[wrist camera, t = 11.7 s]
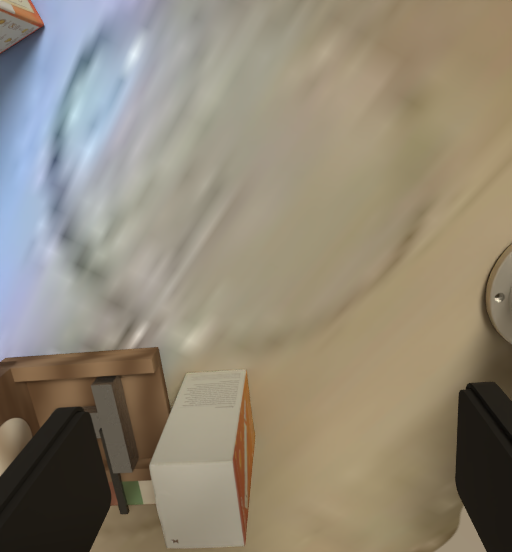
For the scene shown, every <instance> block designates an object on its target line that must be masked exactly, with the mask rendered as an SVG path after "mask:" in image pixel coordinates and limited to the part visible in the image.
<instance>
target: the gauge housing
mask: <svg viewBox="0 0 512 552" xmlns="http://www.w3.org/2000/svg"><path fill="white" fill-rule="evenodd" d="M113 375H120V378H121V382H122V386H123V391H124V395H125V399H126V403H127V408H128V412H129V416H130V421H131V425H132V429H133V434H134V438H135V442H136V447H137V451H138V455H139V459H138V461H137V463H136V466H135V468H134V470H133V472H132V473H120V476H121V480H122V484H123V488H124V492H125V496H126V500H127V504H128V505H137V504H156V500H155V495H154V489H153V485H152V480H151V475H150V469H149V464H150V462H151V459H152V457H153V454H154V452H155V449H156V447H157V444H158V442H159V440H160V437H161V434H162V432H163V429H164V427H165V424H166V422H167V419H168V417H169V415H170V412H171V410H170V405H169V399H168V394H167V389H166V384H165V379H164V374H163V369H162V364H161V359H160V354H159V349H158V347H154V348H140V349H126V350H112V351H98V352H84V353H70V354H56V355H42V356H28V357H14V358H5V359H4V360H2V361H1V362H0V476H1V475H2V474H3V472H4V471H5V470H6V469H7V468H8V466H9V465H10V464H11V463H12V462H13V460H14V459H15V458H16V457H17V456H18V454H19V453H20V452H21V451H22V449H23V448H24V447H25V446H26V445H27V443H28V442H29V441H30V440H31V439H32V437H33V436H34V435H35V434H36V433H37V431H38V430H39V429H40V428H41V427H42V425H43V424H44V423H45V422H46V421H47V419H48V418H49V417H50V415H51V413H52V412H53V411H54V410H55V409H56V408H61V407H78V406H80V407H85V406H96V404H95V400H94V396H93V393H92V389H91V385H92V383H93V382H94V381H95V379H96V378H97V377H98V376H113ZM97 441H98V445H99V448H100V452H101V456H102V460H103V464H104V467H105V471H106V475H107V479H108V483H109V486H110V490H111V505H118V502H117V498H116V494H115V491H114V487H113V483H112V479H111V475H110V471H109V468H108V464H107V460H106V456H105V452H104V448H103V444H102V441H101V438H97ZM111 505H110V506H111Z"/></svg>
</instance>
